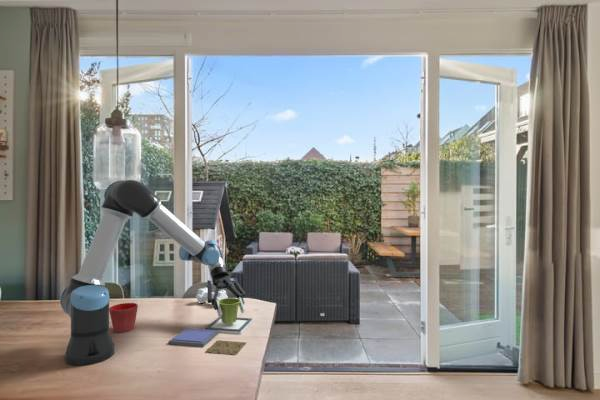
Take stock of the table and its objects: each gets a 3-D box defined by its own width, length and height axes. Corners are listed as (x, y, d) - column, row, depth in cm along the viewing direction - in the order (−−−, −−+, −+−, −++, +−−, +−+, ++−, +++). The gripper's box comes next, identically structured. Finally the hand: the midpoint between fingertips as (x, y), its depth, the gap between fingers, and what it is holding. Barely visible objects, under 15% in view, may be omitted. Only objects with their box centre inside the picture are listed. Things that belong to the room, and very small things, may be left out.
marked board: (240, 334, 151) (240, 330, 151) (203, 331, 154) (203, 328, 154) (253, 321, 167) (253, 318, 167) (219, 318, 170) (219, 316, 170)
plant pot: (244, 321, 161) (244, 300, 161) (226, 326, 154) (226, 305, 154) (231, 316, 167) (231, 296, 167) (213, 321, 161) (213, 301, 160)
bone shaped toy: (228, 305, 194) (229, 289, 195) (217, 308, 186) (218, 291, 187) (205, 301, 201) (206, 286, 201) (194, 304, 193) (195, 288, 194)
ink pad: (203, 346, 138) (203, 342, 138) (168, 344, 141) (168, 340, 141) (218, 333, 152) (218, 329, 152) (186, 331, 155) (186, 327, 155)
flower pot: (105, 329, 157) (105, 306, 156) (131, 323, 165) (131, 301, 164) (115, 336, 149) (115, 311, 149) (142, 328, 157) (142, 305, 157)
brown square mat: (247, 343, 143) (247, 340, 143) (236, 356, 131) (236, 353, 131) (217, 341, 145) (217, 338, 145) (203, 354, 133) (203, 351, 133)
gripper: (238, 272, 180) (253, 313, 167) (192, 277, 167) (204, 323, 154) (242, 262, 175) (258, 304, 162) (196, 267, 163) (209, 313, 150)
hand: (232, 313), depth 158 cm, fingers open, 10 cm apart
